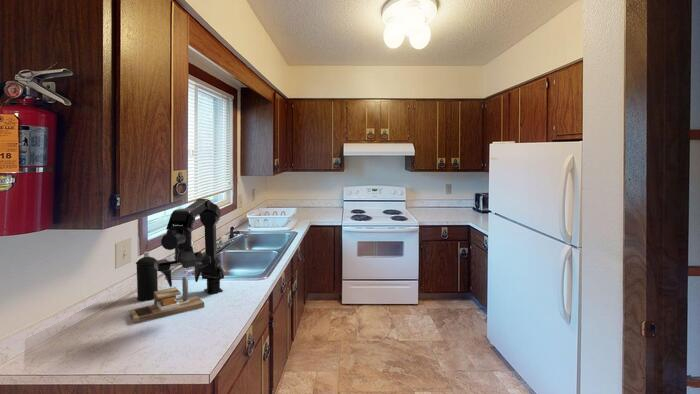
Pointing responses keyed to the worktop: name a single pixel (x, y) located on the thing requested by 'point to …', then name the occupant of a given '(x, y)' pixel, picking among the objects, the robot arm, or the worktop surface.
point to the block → (167, 301)
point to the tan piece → (154, 311)
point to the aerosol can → (146, 278)
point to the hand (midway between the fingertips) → (183, 284)
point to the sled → (177, 303)
